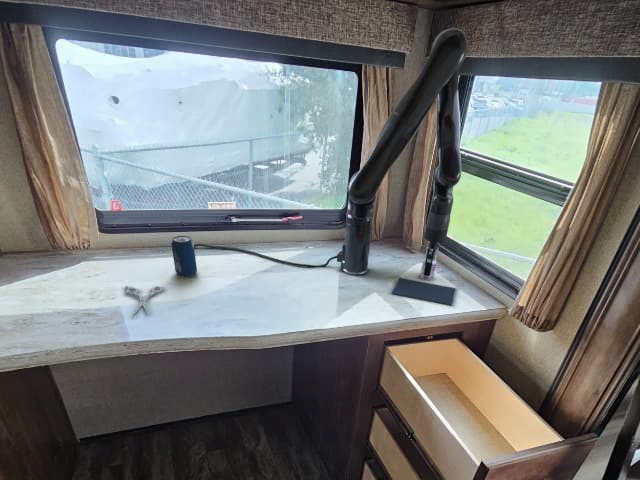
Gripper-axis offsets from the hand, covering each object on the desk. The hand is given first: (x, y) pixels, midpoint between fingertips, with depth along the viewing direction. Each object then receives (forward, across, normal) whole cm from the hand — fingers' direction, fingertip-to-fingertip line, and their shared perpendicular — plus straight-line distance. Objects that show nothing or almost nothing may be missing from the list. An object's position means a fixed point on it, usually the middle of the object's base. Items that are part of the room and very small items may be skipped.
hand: (428, 271), depth 157 cm
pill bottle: (+3, 0, 0) cm, 3 cm away
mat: (+2, +13, +1) cm, 13 cm away
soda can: (+2, +36, -77) cm, 85 cm away
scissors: (+2, +59, -77) cm, 97 cm away
